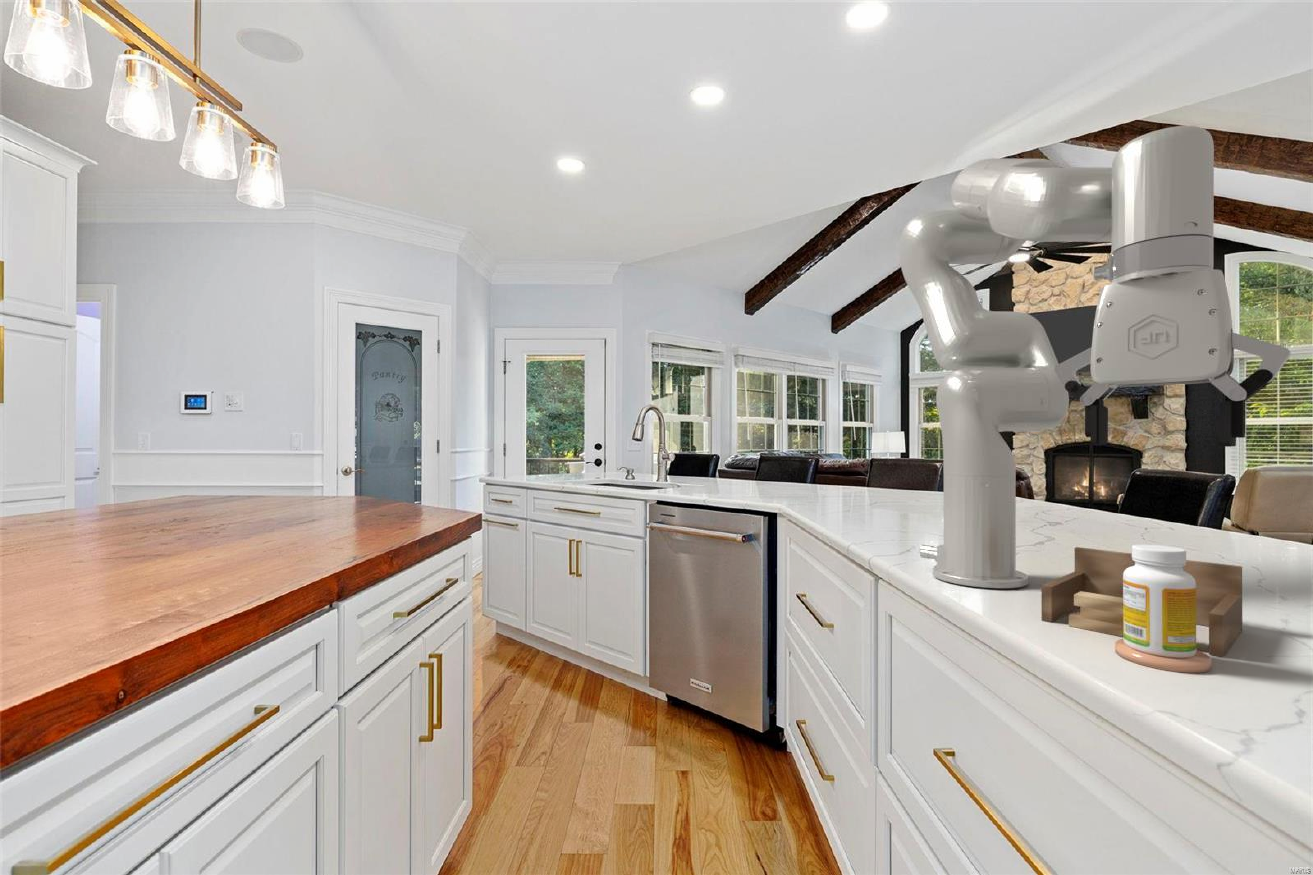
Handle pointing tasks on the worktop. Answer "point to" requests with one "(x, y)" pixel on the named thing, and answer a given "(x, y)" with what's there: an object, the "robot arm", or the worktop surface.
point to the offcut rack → (1103, 596)
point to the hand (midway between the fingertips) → (1159, 445)
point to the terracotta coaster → (1165, 660)
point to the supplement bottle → (1159, 603)
